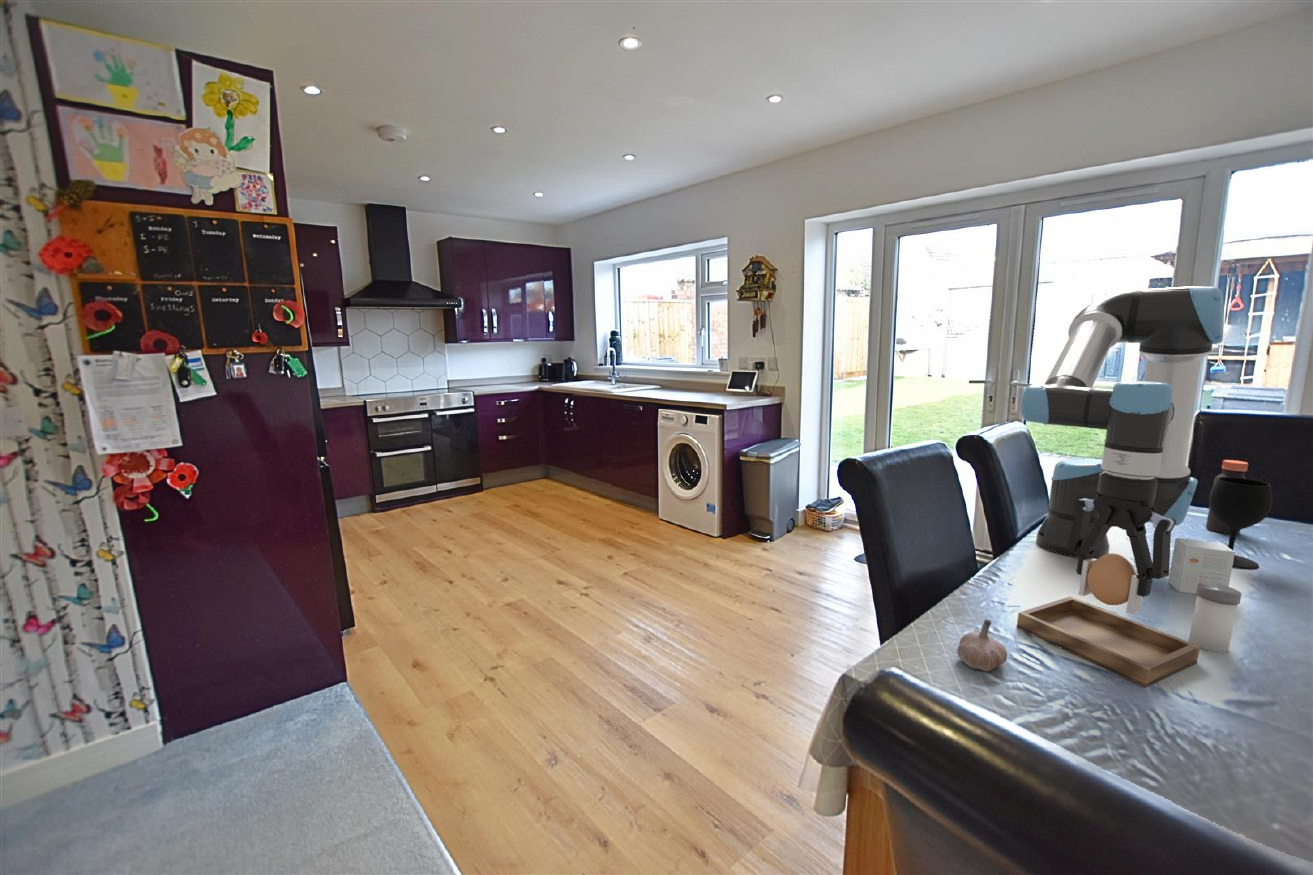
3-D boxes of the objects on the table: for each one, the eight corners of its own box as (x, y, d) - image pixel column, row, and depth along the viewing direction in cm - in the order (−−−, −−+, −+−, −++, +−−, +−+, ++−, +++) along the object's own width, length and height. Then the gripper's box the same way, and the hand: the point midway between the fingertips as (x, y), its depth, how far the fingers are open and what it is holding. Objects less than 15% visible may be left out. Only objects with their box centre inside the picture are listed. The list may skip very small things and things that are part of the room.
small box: (1214, 588, 121) (1223, 542, 119) (1227, 599, 116) (1236, 551, 114) (1166, 581, 124) (1174, 536, 122) (1177, 592, 119) (1185, 545, 117)
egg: (1143, 611, 95) (1152, 560, 93) (1110, 614, 94) (1118, 562, 92) (1106, 594, 101) (1113, 546, 99) (1074, 596, 100) (1082, 548, 98)
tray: (1016, 627, 104) (1018, 612, 104) (1068, 610, 111) (1070, 596, 110) (1144, 687, 87) (1147, 669, 86) (1197, 662, 93) (1200, 646, 93)
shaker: (1181, 640, 100) (1191, 585, 98) (1196, 634, 102) (1206, 580, 100) (1221, 656, 95) (1232, 598, 93) (1236, 649, 97) (1247, 592, 95)
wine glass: (1211, 565, 133) (1227, 484, 130) (1190, 550, 143) (1204, 474, 139) (1269, 572, 129) (1287, 489, 126) (1243, 556, 139) (1259, 478, 135)
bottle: (1199, 526, 161) (1211, 458, 157) (1225, 527, 160) (1238, 459, 156) (1218, 534, 154) (1232, 464, 151) (1246, 535, 153) (1260, 464, 150)
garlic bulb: (998, 654, 96) (1003, 611, 94) (1015, 679, 89) (1021, 633, 87) (950, 649, 97) (954, 606, 96) (963, 673, 90) (968, 627, 89)
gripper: (1053, 464, 100) (1037, 584, 104) (1191, 490, 83) (1166, 633, 87) (1078, 460, 104) (1061, 577, 108) (1216, 485, 86) (1190, 623, 90)
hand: (1108, 602), depth 97 cm, fingers closed on egg, 7 cm apart
